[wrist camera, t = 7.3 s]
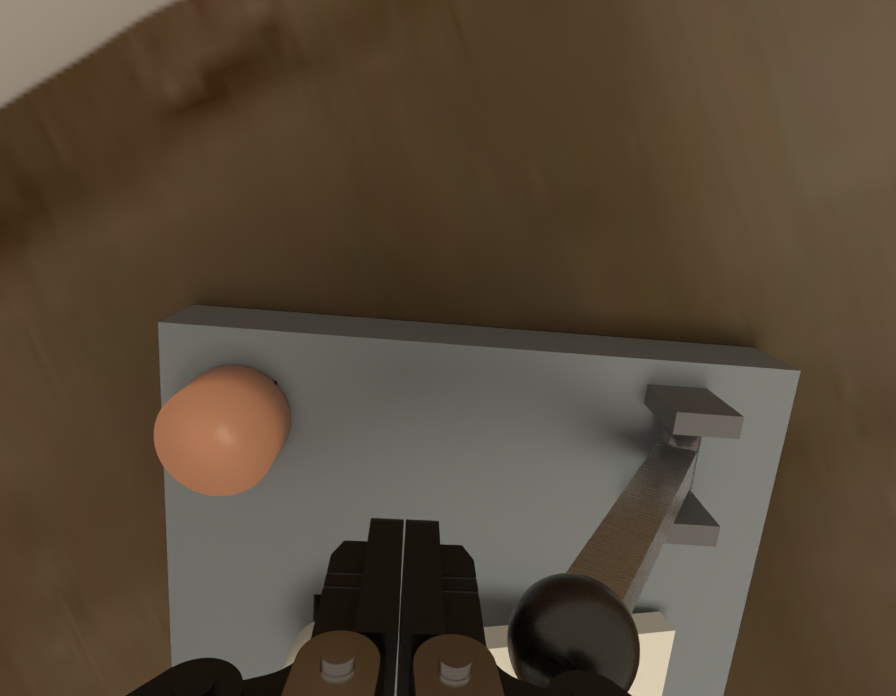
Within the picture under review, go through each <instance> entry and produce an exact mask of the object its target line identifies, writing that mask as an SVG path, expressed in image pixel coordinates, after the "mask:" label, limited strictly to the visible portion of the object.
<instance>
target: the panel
mask: <svg viewBox="0 0 896 696" xmlns="http://www.w3.org/2000/svg"><path fill="white" fill-rule="evenodd" d="M158 335H159V360H160V385H161V409H162V407H163V406H164V405H165V403H166V402H167V401H168V400H169V399H170V398H171V397H173V396H174V395H175V394H177V393H178V392H179V391H180V390H182V389H183V388H184V387H185V386H187V385H188V384H189V383H190V382H192V381H193V380H194V379H195V378H197V377H198V376H199V375H201V374H202V373H204V372H206V371H207V370H210V369H212V368H215V367H219V366H225V365H238V366H244V367H248V368H251V369H254V370H256V371H258V372H260V373H262V374H264V375H265V376H267V377H268V378H270V379H271V380H272V381H277V386H278V387H279V389H280V390H281V391H282V393H283V395H284V396H285V398H286V400H287V403H288V406H289V410H290V416H291V424H290V431H289V435H288V437H287V440H286V442H285V443H284V445H283V447H282V448H281V450H280V452H279V453H278V455H277V457H276V458H275V460H274V462H273V463H272V465H271V467H270V468H269V470H268V472H267V473H266V475H265V476H264V477H263V478H262V479H261V480H260V481H259V482H258V483H257V484H256V485H254V486H253V487H251V488H250V489H248V490H246V491H244V492H241V493H238V494H234V495H229V496H211V495H205V494H201V493H198V492H195V491H193V490H191V489H189V488H187V487H185V486H183V485H182V484H180V483H179V482H178V481H176V480H175V479H174V478H173V477H172V476H171V475H170V474H169V473H168V472H167V470H166V469H165V468H164V485H165V510H166V536H167V561H168V586H169V611H170V636H171V661H172V667H174V666H175V665H178V664H180V663H183V662H185V661H189V660H192V659H198V658H218V659H222V660H225V661H228V662H230V663H231V664H233V665H234V666H235V667H236V668H237V669H238V670H239V671H240V673H241V675H242V678H243V680H246V679H250V678H255V677H259V676H263V675H267V674H271V673H274V672H277V671H279V670H281V669H283V667H284V664H285V661H286V658H287V655H288V652H289V649H290V646H291V644H292V641H293V640H294V638H295V637H296V635H297V634H298V633H299V632H300V631H301V630H302V629H303V628H304V627H306V626H307V625H309V624H310V623H312V622H314V621H315V619H316V615H317V611H318V606H319V602H320V598H321V594H322V590H323V587H324V581H325V577H326V574H327V569H328V565H329V561H330V557H331V554H332V553H333V552H334V551H335V550H336V549H337V548H338V547H339V546H340V544H341V543H342V542H343V541H344V540H347V541H368V534H369V527H370V520H371V518H387V519H404V528H403V549H402V570H401V587H402V572H403V556H404V541H405V526H406V519H411V520H434V521H439V531H440V544H445V545H462V546H463V547H464V548H465V549H466V551H467V552H468V553H469V554H470V556H471V557H472V558H473V560H474V564H475V571H476V580H477V585H478V594H479V599H480V606H481V613H482V620H483V627H492V626H503V625H509V620H510V617H511V614H512V611H513V609H514V607H515V605H516V603H517V601H518V600H519V598H520V597H521V596H522V594H523V593H524V592H525V591H526V590H527V589H528V588H529V587H530V586H531V585H533V584H534V583H536V582H537V581H539V580H541V579H542V578H545V577H548V576H550V575H554V574H559V573H566V572H567V570H568V569H569V568H570V566H571V565H572V563H573V562H574V560H575V559H576V558H577V556H578V555H579V553H580V552H581V550H582V549H583V548H584V546H585V545H586V543H587V542H588V541H589V539H590V538H591V536H592V535H593V533H594V532H595V531H596V529H597V528H598V526H599V525H600V523H601V522H602V521H603V519H604V518H605V516H606V515H607V513H608V512H609V511H610V509H611V508H612V506H613V505H614V503H615V502H616V501H617V499H618V498H619V496H620V495H621V493H622V492H623V491H624V489H625V488H626V486H627V485H628V483H629V482H630V481H631V479H632V478H633V476H634V475H635V474H636V472H637V471H638V469H639V468H640V466H641V465H642V464H643V462H644V461H645V459H646V458H647V456H648V455H649V454H650V452H651V451H652V449H653V448H654V446H655V445H656V444H657V442H658V441H659V442H660V440H661V435H662V429H663V425H664V426H665V427H666V428H667V429H668V430H669V431H670V432H671V433H672V434H674V435H688V436H702V439H701V444H700V449H699V454H698V459H697V464H696V469H695V474H694V479H693V484H692V489H691V494H690V496H689V497H687V498H685V499H684V502H683V504H682V506H681V508H680V510H679V512H678V514H677V517H676V519H675V521H674V523H673V525H672V527H671V530H670V532H669V534H668V536H667V538H666V540H665V543H664V545H663V547H662V549H661V551H660V553H659V555H658V558H657V560H656V562H655V564H654V566H653V568H652V571H651V573H650V575H649V577H648V579H647V581H646V584H645V586H644V588H643V590H642V592H641V594H640V596H639V599H638V601H637V603H636V605H635V607H634V609H633V612H632V614H636V613H648V612H659V611H660V612H661V613H662V615H663V616H664V617H665V618H666V620H667V621H668V622H669V623H670V624H671V626H672V627H673V628H674V629H675V635H674V640H673V645H672V650H671V654H670V659H669V664H668V669H667V674H666V678H665V683H664V688H663V693H662V696H723V694H724V690H725V686H726V682H727V677H728V673H729V669H730V665H731V661H732V657H733V652H734V648H735V644H736V640H737V636H738V631H739V627H740V623H741V619H742V615H743V610H744V606H745V602H746V598H747V594H748V589H749V585H750V581H751V577H752V573H753V569H754V564H755V560H756V556H757V552H758V548H759V543H760V539H761V535H762V531H763V527H764V522H765V518H766V514H767V510H768V506H769V501H770V497H771V493H772V489H773V485H774V481H775V476H776V472H777V468H778V464H779V460H780V455H781V451H782V447H783V443H784V439H785V434H786V430H787V426H788V422H789V418H790V413H791V409H792V405H793V401H794V397H795V393H796V388H797V384H798V380H799V376H800V372H801V371H800V370H798V369H796V368H794V367H792V366H790V365H788V364H787V363H785V362H783V361H781V360H779V359H777V358H775V357H773V356H771V355H769V354H767V353H765V352H763V351H761V350H759V349H757V348H754V347H741V346H728V345H715V344H702V343H689V342H676V341H663V340H650V339H637V338H624V337H611V336H598V335H585V334H572V333H559V332H546V331H533V330H520V329H507V328H494V327H481V326H468V325H455V324H442V323H429V322H416V321H403V320H390V319H377V318H364V317H351V316H338V315H325V314H312V313H299V312H286V311H273V310H260V309H247V308H234V307H221V306H207V305H192V306H190V307H188V308H186V309H184V310H182V311H180V312H178V313H176V314H174V315H172V316H170V317H167V318H165V319H163V320H161V321H159V322H158ZM400 605H401V591H400ZM399 625H400V612H399ZM398 647H399V632H398ZM397 669H398V648H397V664H396V679H395V694H394V696H396V691H397Z"/></svg>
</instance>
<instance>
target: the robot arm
mask: <svg viewBox="0 0 896 696" xmlns="http://www.w3.org/2000/svg"><path fill="white" fill-rule="evenodd" d="M403 528H404V519H387V518H371V520H370V527H369V534H368V541H347V540H344V541H343V542H342V543H341V544H340V546H339V547H338V548H337V549H336V550H335V551H334V552H333V553H332V554H331V557H330V561H329V565H328V569H327V574H326V577H325V581H324V587H323V590H322V594H321V598H320V602H319V606H318V611H317V615H316V619H315V623H314V627H313V631H312V635H311V639H310V640H309V641H307V642H306V643H305V644H304V645H303V646H302V647H301V648H300V650H299V651H298V653H297V655H296V657H295V660H294V662H293V663H292V664H290V665H289V666H287V667H285V668H283V669H281V670H279V671H277V672H274V673H271V674H267V675H263V676H259V677H255V678H250V679H246V680H243V678H242V675H241V673H240V671H239V670H238V669H237V668H236V667H235V666H234V665H233V664H231V663H230V662H228V661H225V660H222V659H218V658H198V659H192V660H189V661H185V662H183V663H180V664H178V665H175V666H174V667H172V668H170V669H168V670H167V671H165V672H163V673H162V674H160V675H158V676H157V677H155V678H154V679H152V680H150V681H149V682H147V683H145V684H144V685H142V686H141V687H139V688H137V689H136V690H134V691H133V692H131V693H129V694H128V695H126V696H394V694H395V679H396V664H397V648H398V669H397V691H396V696H632V695H631V694H629V693H628V692H627V691H625V690H624V689H623V688H621V687H620V686H619V685H617V684H616V683H614V682H613V681H611V680H610V679H608V678H606V677H604V676H602V675H599V674H597V673H594V672H590V671H584V670H571V671H566V672H563V673H560V674H558V675H557V676H555V677H554V678H553V679H552V680H551V681H550V682H549V684H548V686H547V688H544V687H541V686H537V685H534V684H531V683H527V682H524V681H522V680H519V679H517V678H515V677H513V676H511V675H509V674H508V673H506V672H504V671H503V670H502V669H501V668H500V667H498V665H497V664H496V661H495V659H494V656H493V655H492V653H491V652H490V651H489V649H488V648H487V646H486V640H485V633H484V627H483V620H482V613H481V606H480V599H479V594H478V585H477V580H476V571H475V564H474V560H473V558H472V557H471V556H470V554H469V553H468V552H467V551H466V549H465V548H464V547H463V546H462V545H445V544H440V531H439V521H434V520H411V519H406V526H405V541H404V556H403V572H402V587H401V570H402V549H403ZM400 591H401V605H400ZM399 612H400V625H399ZM398 632H399V647H398Z"/></svg>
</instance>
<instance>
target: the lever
mask: <svg viewBox="0 0 896 696" xmlns="http://www.w3.org/2000/svg"><path fill="white" fill-rule="evenodd" d="M701 439H702V436H688V435H674V434H672V433H671V432H670V431H669V430H668V429H667V428H666V427H665V426H664V425H663V429H662V435H661V440H660V442H659V441H658V442H657V444H656V445H655V446H654V448H653V449H652V451H651V452H650V454H649V455H648V456H647V458H646V459H645V461H644V462H643V464H642V465H641V466H640V468H639V469H638V471H637V472H636V474H635V475H634V476H633V478H632V479H631V481H630V482H629V483H628V485H627V486H626V488H625V489H624V491H623V492H622V493H621V495H620V496H619V498H618V499H617V501H616V502H615V503H614V505H613V506H612V508H611V509H610V511H609V512H608V513H607V515H606V516H605V518H604V519H603V521H602V522H601V523H600V525H599V526H598V528H597V529H596V531H595V532H594V533H593V535H592V536H591V538H590V539H589V541H588V542H587V543H586V545H585V546H584V548H583V549H582V550H581V552H580V553H579V555H578V556H577V558H576V559H575V560H574V562H573V563H572V565H571V566H570V568H569V569H568V570H567V572H566V573H559V574H554V575H550V576H548V577H545V578H542V579H541V580H539V581H537V582H536V583H534V584H533V585H531V586H530V587H529V588H528V589H527V590H526V591H525V592H524V593H523V594H522V596H521V597H520V598H519V600H518V601H517V603H516V605H515V607H514V609H513V611H512V614H511V617H510V620H509V625H508V631H507V646H508V653H509V658H510V662H511V665H512V668H513V670H514V672H515V675H516V676H517V678H518V679H519V680H522V681H524V682H527V683H531V684H534V685H537V686H541V687H544V688H547V686H548V684H549V682H550V681H551V680H552V679H553V678H554V677H555V676H557V675H558V674H560V673H563V672H566V671H571V670H584V671H590V672H594V673H597V674H599V675H602V676H604V677H606V678H608V679H610V680H611V681H613V682H614V683H616V684H617V685H619V686H620V687H621V688H623V689H624V690H625V691H627V692H628V691H629V690H630V688H631V686H632V684H633V682H634V680H635V678H636V674H637V671H638V667H639V661H640V642H639V636H638V631H637V628H636V624H635V622H634V620H633V617H632V615H631V614H632V612H633V609H634V607H635V605H636V603H637V601H638V599H639V596H640V594H641V592H642V590H643V588H644V586H645V584H646V581H647V579H648V577H649V575H650V573H651V571H652V568H653V566H654V564H655V562H656V560H657V558H658V555H659V553H660V551H661V549H662V547H663V545H664V543H665V540H666V538H667V536H668V534H669V532H670V530H671V527H672V525H673V523H674V521H675V519H676V517H677V514H678V512H679V510H680V508H681V506H682V504H683V502H684V499H685V498H687V497H689V496H690V494H691V489H692V484H693V479H694V474H695V469H696V464H697V459H698V454H699V449H700V444H701Z"/></svg>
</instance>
